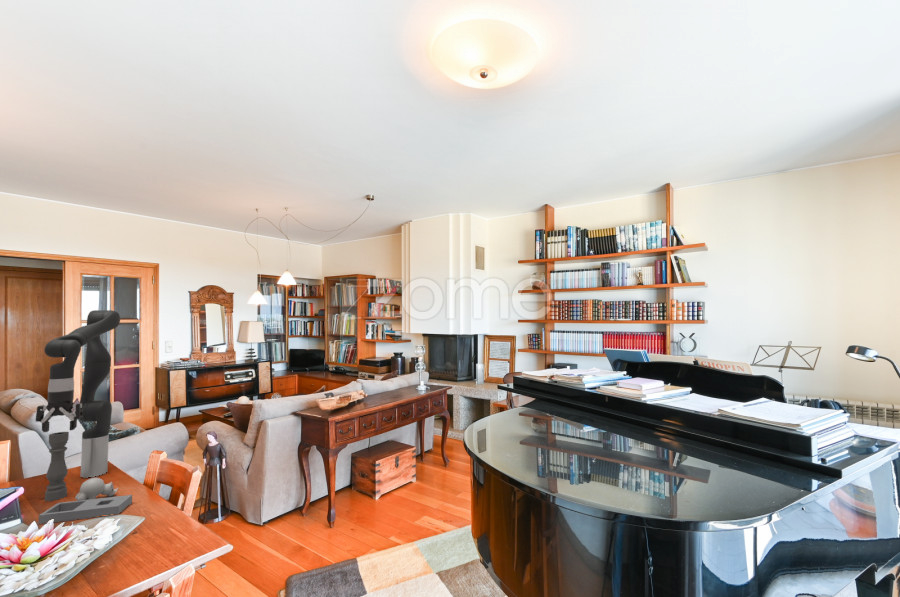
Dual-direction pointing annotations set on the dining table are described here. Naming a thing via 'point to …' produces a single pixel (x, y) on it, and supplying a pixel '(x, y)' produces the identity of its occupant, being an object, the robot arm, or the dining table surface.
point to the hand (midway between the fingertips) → (59, 430)
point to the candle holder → (57, 467)
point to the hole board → (85, 509)
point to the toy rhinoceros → (95, 489)
